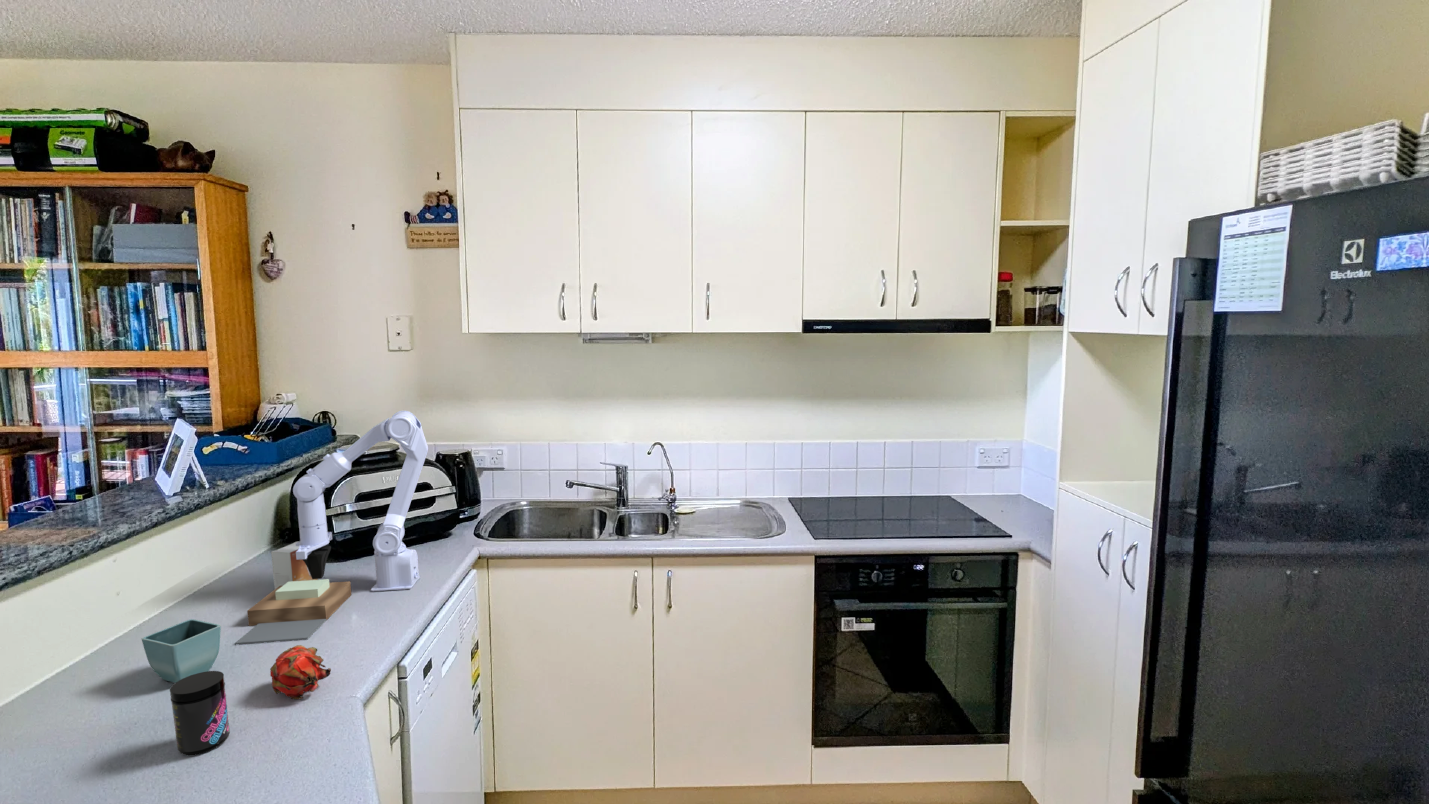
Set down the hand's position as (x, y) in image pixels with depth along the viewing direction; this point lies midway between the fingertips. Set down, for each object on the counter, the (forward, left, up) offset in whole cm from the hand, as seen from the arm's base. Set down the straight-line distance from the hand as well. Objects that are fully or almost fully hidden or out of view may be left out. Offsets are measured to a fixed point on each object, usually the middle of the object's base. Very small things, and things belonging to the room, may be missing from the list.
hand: (317, 577), depth 162 cm
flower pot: (+8, +37, -5) cm, 38 cm away
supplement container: (-8, +60, -4) cm, 60 cm away
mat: (-1, +20, -4) cm, 21 cm away
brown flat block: (0, +9, -4) cm, 10 cm away
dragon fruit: (-16, +46, -5) cm, 49 cm away
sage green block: (0, +8, -1) cm, 8 cm away
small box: (+8, -6, -5) cm, 11 cm away
